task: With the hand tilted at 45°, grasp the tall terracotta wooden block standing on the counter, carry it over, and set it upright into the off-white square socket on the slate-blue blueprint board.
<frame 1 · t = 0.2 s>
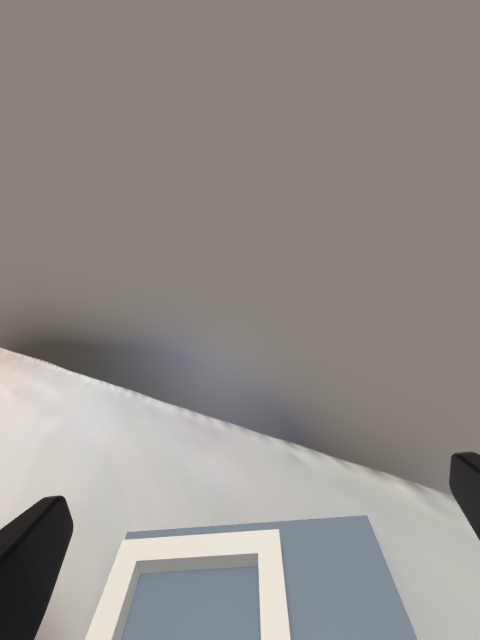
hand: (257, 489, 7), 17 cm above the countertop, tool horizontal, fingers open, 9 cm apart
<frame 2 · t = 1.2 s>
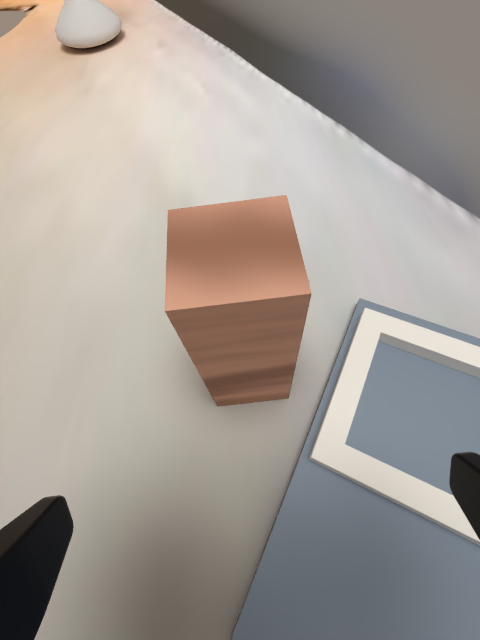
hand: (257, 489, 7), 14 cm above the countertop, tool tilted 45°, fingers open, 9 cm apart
terracotta block: (249, 368, 23), on the countertop
flower in vase: (98, 41, 56), on the countertop
blueprint board: (456, 506, 18), on the countertop
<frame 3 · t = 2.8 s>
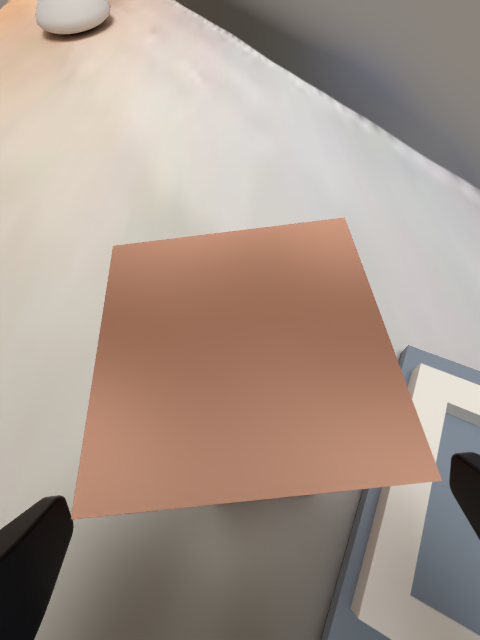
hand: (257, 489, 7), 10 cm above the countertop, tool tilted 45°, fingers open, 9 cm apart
terracotta block: (257, 445, 17), on the countertop
flower in vase: (85, 27, 50), on the countertop
when the fingers open (10 cm above the countertop, at t = 9.9 s): terracotta block drops 2 cm, resting on blueprint board.
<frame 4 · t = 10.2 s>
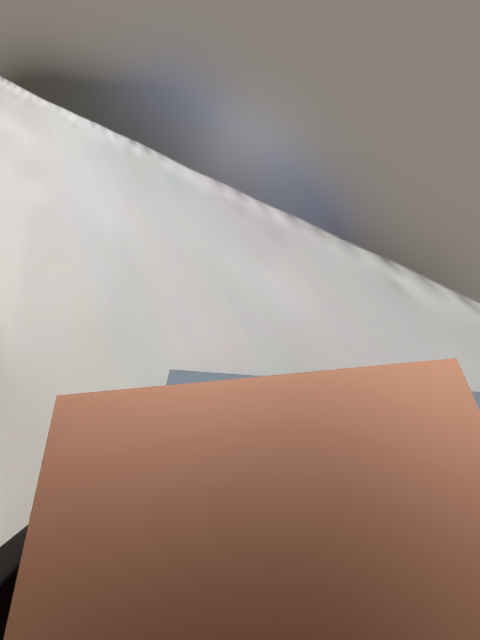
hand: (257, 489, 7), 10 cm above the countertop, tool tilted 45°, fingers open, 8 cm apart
terracotta block: (266, 525, 14), point 1 cm above the countertop, touching blueprint board
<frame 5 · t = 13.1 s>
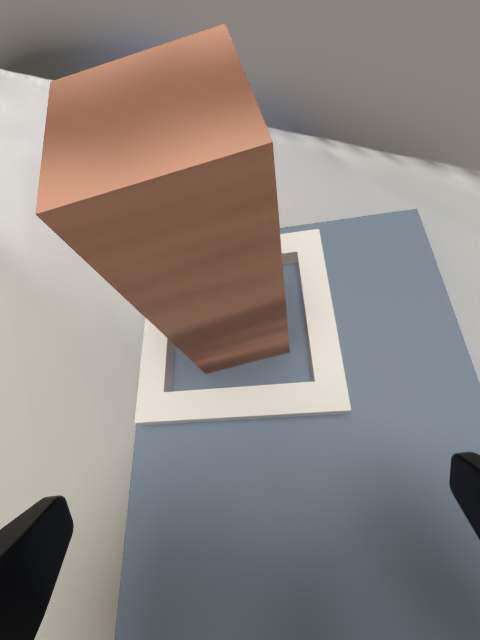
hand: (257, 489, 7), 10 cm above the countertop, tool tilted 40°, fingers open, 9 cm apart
terracotta block: (238, 324, 19), point 1 cm above the countertop, touching blueprint board
blueprint board: (295, 391, 18), on the countertop
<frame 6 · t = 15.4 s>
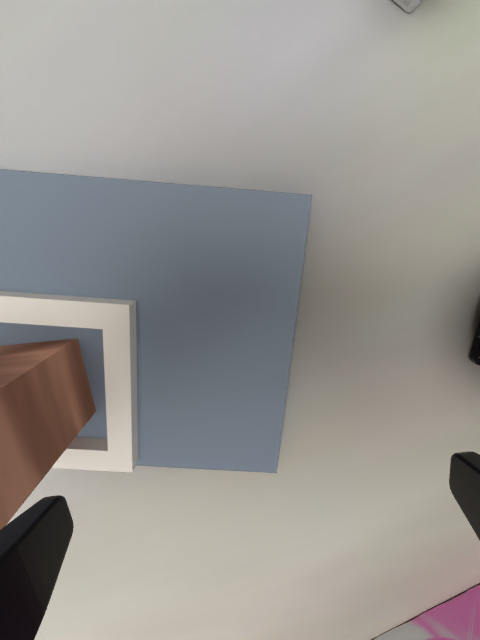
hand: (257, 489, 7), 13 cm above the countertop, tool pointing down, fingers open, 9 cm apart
gum box: (428, 639, 28), on the countertop
terracotta block: (47, 379, 19), point 1 cm above the countertop, touching blueprint board
blueprint board: (117, 334, 20), on the countertop
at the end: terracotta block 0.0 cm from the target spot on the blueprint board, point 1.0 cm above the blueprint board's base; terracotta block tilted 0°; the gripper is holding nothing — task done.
